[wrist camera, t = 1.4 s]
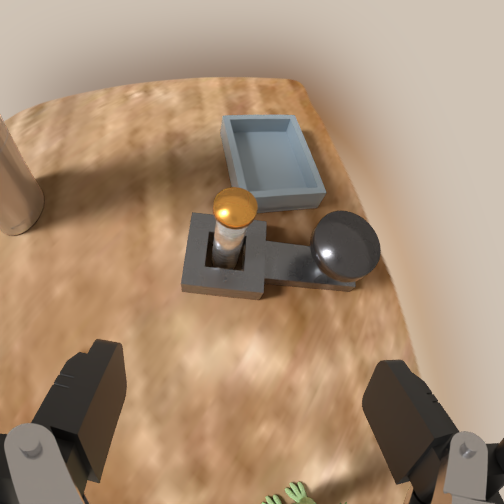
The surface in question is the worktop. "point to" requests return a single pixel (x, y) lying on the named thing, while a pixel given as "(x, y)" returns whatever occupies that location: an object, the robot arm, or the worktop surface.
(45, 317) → the worktop surface
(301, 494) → the toy
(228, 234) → the pin
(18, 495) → the robot arm
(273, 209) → the tray
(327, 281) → the tensioner
